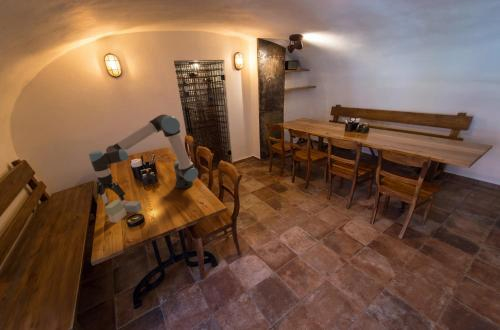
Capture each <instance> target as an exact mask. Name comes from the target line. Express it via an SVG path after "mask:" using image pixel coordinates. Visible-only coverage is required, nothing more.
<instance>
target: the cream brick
mask: <svg viewBox="0 0 500 330" xmlns="http://www.w3.org/2000/svg"><path fill="white" fill-rule="evenodd" d="M126 216H128V214H127V212H126V211H125V208H123V209H122V210H121V211H119V212H118V213H117V214H115V215H114V216H112V215H107V217H108V219H109V223H114V224H116V223H118V222H120V221H121V220H122V219H123V218H125V217H126Z"/></svg>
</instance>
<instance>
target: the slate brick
mask: <svg viewBox="0 0 500 330" xmlns="http://www.w3.org/2000/svg"><path fill="white" fill-rule="evenodd" d="M124 206H125V209H126V213H135V214H138V213H139V212H140V211H141V210H142V209H143V207H142V204H141V201H129V200H128V203H126V204H125V205H124Z"/></svg>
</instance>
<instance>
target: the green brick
mask: <svg viewBox="0 0 500 330" xmlns="http://www.w3.org/2000/svg"><path fill="white" fill-rule="evenodd" d="M123 208H124V206H123V205H121V204H120V201H119V199H115V200H113V201H112V202H110V203H108V204H107V205H105V206H104V209H105V212H106V213H105V214H106V215H107V216H108V215H112V216H114V215H115V214H117V213H118V212H119V211H121V210H122V209H123Z"/></svg>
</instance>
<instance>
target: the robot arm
mask: <svg viewBox="0 0 500 330" xmlns="http://www.w3.org/2000/svg"><path fill="white" fill-rule="evenodd" d="M180 128H181V123H180V121H179V120H178V119H177V118H176V117H175V116H173V115H167V114H160V115H157V116H155V117H154V118H153V119H151V120H149V121H148V123H147V124H146V125H145V126H142V127H141V128H140V129H138V130H136V131H135V132H133V133H131V134H129V135H128V136H126V137H125V138H123V139H121V140H120V141H118V142H116V143H114V144H112V145H111V144H110V145H108V146H107V147H106V149H105V152H104V151H103V150H95V151H91V152H90V153H89V154H88V157H89V160H90V163H91V166H92V168H93V171H94V173H95V176H96V178H97V180H98V181H96V184H97V187H96V194H97V195H99V196H100V197H101V199H102V202H103V204H104V205H106V204H107V203H108V202H109V199H108V196H107V194H106V190H110V191H113V192H114V193H115V194H116V195H117V196H118V200H119V201H120V204H121V205H124V204H125V201H126V200H125V197H124V196H125V195H126V192H125V191H124V189H123V188H122V187H121V186H120V185H119V184H118V181H115V182H114V181H113V175H112V173H111V169H110V167H109V165H113V164H119V163H122V162H125V161H128V160H129V154H128V152H127V151H128V150H130V149H132V148H133V147H134V146H136V145H138V144H139V143H141V142H143V141H144V140H145V139H147V138H148V137H151V136H152V135H153V134H155V133H157V134H158V133H160V132H161V131H162V133H163V136H164V137H165V138H167V139H168V141H169V144H170V146H171V149H172V151H173V153H174V156H175V157H176V161H175V162H174V163H173V169H174V173H175V188H176V189H178V190H186V189H189V188H191V187H192V186H193V185H194V181H195V180H196V179H197V177H198V176H199V171H198V169H197V168H196V167H195V166H194V163H193V162H192V161H191V160H190V158H189V156H188V152H187V150H186V147H185V145H184V143H183V140H182V138H181V137H182V136H181V134H180V133H181V129H180Z"/></svg>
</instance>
